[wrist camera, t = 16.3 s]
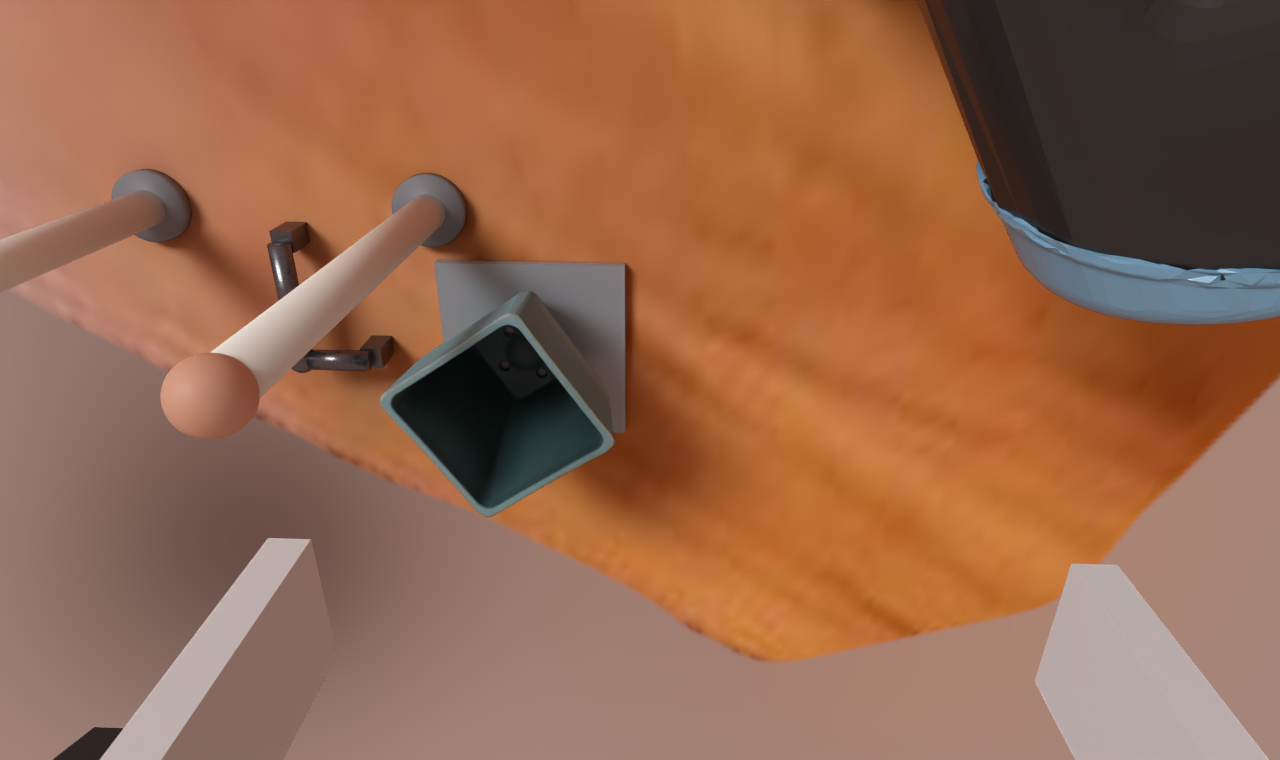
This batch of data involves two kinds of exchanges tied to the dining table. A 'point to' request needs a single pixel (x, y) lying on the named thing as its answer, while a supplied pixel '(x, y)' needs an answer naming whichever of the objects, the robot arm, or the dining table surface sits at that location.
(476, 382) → the flower pot
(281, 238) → the bent rail
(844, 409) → the dining table surface
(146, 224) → the post
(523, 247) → the dining table surface
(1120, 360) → the dining table surface
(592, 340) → the tile
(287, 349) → the post
